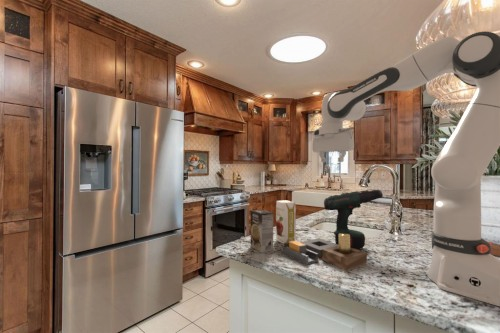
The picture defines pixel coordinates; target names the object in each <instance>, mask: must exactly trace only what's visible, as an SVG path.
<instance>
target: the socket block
mask: <svg viewBox="0 0 500 333" xmlns="http://www.w3.org/2000/svg"><path fill="white" fill-rule="evenodd" d="M299 242H300V243H302V244H305V245H306V249H308V250H310V251H313V252H315V253H318V259H319V258H320V259H322V249H325V248H329V247H333V246H337V245H338V244H335V243H334V242H331V241H328V240H325V239H322V238H319V237H318V238H314V239H310V240H304V241H299Z"/></svg>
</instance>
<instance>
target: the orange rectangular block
mask: <svg viewBox="0 0 500 333" xmlns="http://www.w3.org/2000/svg"><path fill="white" fill-rule="evenodd" d="M300 242H301V241H297V240H296V241H290V242H289V248H291V249H293V250H296V251H298V252H300V253H303V254H305V255H306V245H305V244H302V243H300Z"/></svg>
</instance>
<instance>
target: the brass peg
mask: <svg viewBox="0 0 500 333" xmlns="http://www.w3.org/2000/svg"><path fill="white" fill-rule="evenodd" d="M338 235H339V253H342V254H344V255H347V254H350V235H349V234H345V233H340V234H338Z"/></svg>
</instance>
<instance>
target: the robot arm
mask: <svg viewBox="0 0 500 333" xmlns="http://www.w3.org/2000/svg"><path fill="white" fill-rule="evenodd" d="M449 73H450V74H451V73H452V74H453V76H454V77H456V78H457V79H458V80H460V81H461V82H462V83H464V84H466V85H468V86H469V87H475V92H474V93H473V96H472V97H471V100H470V101H469V103H468V105H467V107H466V108H465V110H464V112H463V114H462V116H461V118H460V119H459V120H458V123H457V125H456V126H455V128H454V130H453V131H452V134H450V135H449V137H448V139H447V141H446V143H445V144H444V146H443V147H442V149H441V150H440V152H439V153H438V155H437V157H436V159H435V161H434V162H433V164H432V167H431V168H430V169H431V170H430V173H431V174H430V175H431V177H432V180H433V182H434V183H435V184H434V185H435V186H434V197H433V198H434V200H433V201H434V202H433V231H432V233H431V249H432V256H431V261H430V266H429V269H428V271H427V274H426V276H427V277H428V278H429V280H430V281H432V282H433V283H435V284H436V286H437V287H438V288H439V289H440V290H443V291H447V292H450V293H453V294H457V295H459V296H462V297H463V296H464V297H466V298H470V299H474V300H476V301H479V302H484V303H487V304H491V305H494V306H497V307H500V259H498V258H497V257H495V256H494V255H493V254H491V252H492V246H493V244H492V241H491V242H487V240H485V239H484V238H482V189H481V186H482V184H481V182H482V181H481V179H482V177H483V175H484V173H485V171H486V170H487V168H488V167H489V165H490V163H491V161H492V160H493V159H494V157H495V155H496V153H497V152H498V150H499V148H500V35H499V34H497V33H495V32H492V31H479V32H475V33H472V34H470V35H468V36H466V37H465V38H463V39H462V40H461V41H459V40H458V39H457V38H455V37H452V36H444V37H441V38H439V39H437V40H434V41H433V42H431V43H429V44H427V45H425V46H423V47H422V48H420V49H418V50H416V51H415V52H413V53H411V54H410V55H408V56H407V57H405V58H404V59H402V60H400V61H398V62H396V63H395V64H393V65H391V66H390V67H387V68H384V69H382V70H380V71H378V72H377V73H374V74H373V75H372V76H370V77H368V78H365V79H364V80H363V81H360V82H359V83H357V84H356V85H353V86H352V87H350V88H347V89H344V90H339V91H332V92H329V93H327V94H325V95H324V96H323V98H322V101H321V118H322V119H321V120H322V121H321V126H320V127H319V128H316V129H315V130H314V131H312V136H313V139H312V143H311V144H312V147H311V148H312V152H313V153H316V154H317V153H318V155H319V157H320V162H321V163H326V162H327V158H325V153H329V152H330V153H332V152H335V153H336V152H339V154H340V156H339V157H337V162H338V163H343V162H344V160H345V159H344V158H345V156H346V155H347V151H353V150H354V148H355V140H354V131H353V130H352V129H351V128H350V127H347V128H343V127H344V121H351V122H354V121H359V120H361V119H362V118H363V117H364V116H365V114H366V112H367V103H366V102H365V101H366V100H368V99H369V98H372V97H374V96H375V95H377V94H380V93H382V92H388V91H389V92H390V91H393V92H395V91H397V92H398V91H399V92H407V91H408V92H409V91H411V90H414V89H417V88H420V87H421V86H424V85H426V84H427V83H429V82H431V81H433V80H434V79H436V78H438V77H440V76H442V75H445V74H449Z"/></svg>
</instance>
